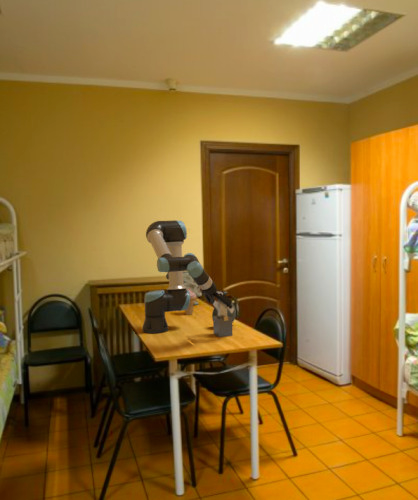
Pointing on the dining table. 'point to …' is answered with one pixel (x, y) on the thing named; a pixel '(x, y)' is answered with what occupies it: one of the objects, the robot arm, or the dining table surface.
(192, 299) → the ice cream cone
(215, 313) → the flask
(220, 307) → the column
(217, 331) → the stand base
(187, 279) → the sculpture
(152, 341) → the dining table surface
